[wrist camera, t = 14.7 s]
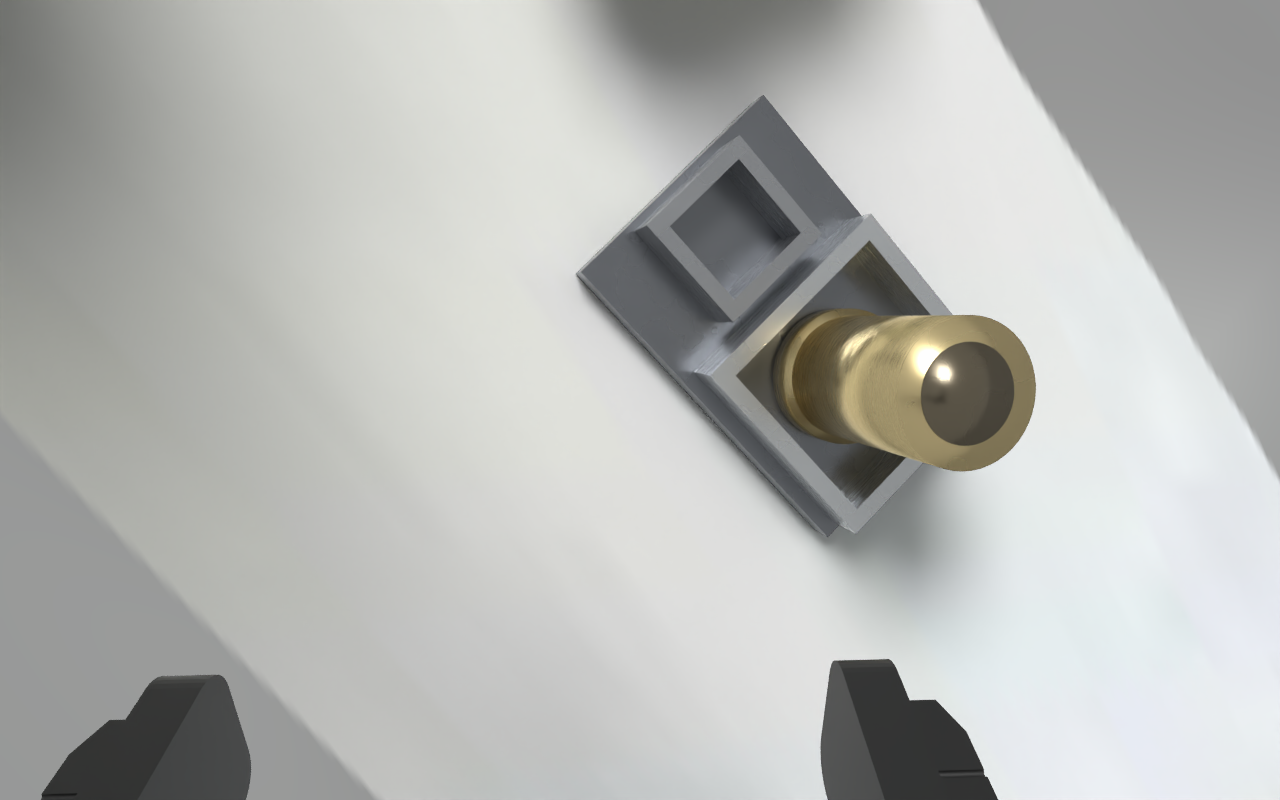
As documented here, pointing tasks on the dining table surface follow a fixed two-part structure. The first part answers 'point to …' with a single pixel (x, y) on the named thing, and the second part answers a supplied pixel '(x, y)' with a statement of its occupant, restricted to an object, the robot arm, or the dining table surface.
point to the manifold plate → (760, 301)
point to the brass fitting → (908, 384)
